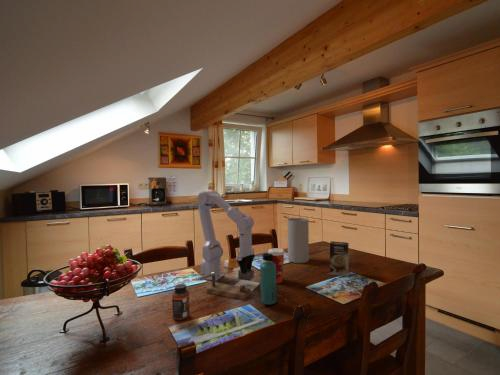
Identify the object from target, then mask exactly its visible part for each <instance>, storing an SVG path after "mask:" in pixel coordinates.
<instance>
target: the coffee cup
mask: <svg viewBox="0 0 500 375" xmlns="http://www.w3.org/2000/svg"><path fill="white" fill-rule="evenodd" d="M267 253H270V254H273V260H272V261H271V262H273V263H274V264H275V265H276V274H277V275H276V284H280V283H283V280H284V279H283V278H284V262H285V260H284V259H285V251H284V249H282V248H275V247H274V248H270V249H268V252H267Z"/></svg>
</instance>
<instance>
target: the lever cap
mask: <svg viewBox="0 0 500 375" xmlns="http://www.w3.org/2000/svg"><path fill="white" fill-rule="evenodd" d="M237 273H238V274H237V275H238V276H237V278H238V279H237V280H245V281H251V282H252V281H253V279H254V278H255V269H252V268H251V269H247V272H246V274H242V273H241V269H240V268H239V270H238V272H237Z"/></svg>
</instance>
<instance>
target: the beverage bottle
mask: <svg viewBox="0 0 500 375" xmlns="http://www.w3.org/2000/svg"><path fill="white" fill-rule="evenodd" d="M262 260H263V262H262V263H261V264H259V265H260V266H259V267H260V272H259V273H260V301H261V303H262V304H265V305H273V304H275V303H276V302H277V299H278V292H277V291H278V287H277V283H276V275H277V274H276V265H275V264H274V263H273V262H271V261H272V260H273V254H270V253H268V252H267V253H263V254H262Z"/></svg>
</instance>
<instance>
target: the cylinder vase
mask: <svg viewBox="0 0 500 375" xmlns="http://www.w3.org/2000/svg"><path fill="white" fill-rule="evenodd" d="M286 220H287V221H286V222H287V223H286V224H287V261H289V263H290V262H291V263H292V262H293V263H294V264H306V263H308V262H309V260H310V254H309V253H310V250H309V249H310V245H309V244H310V243H309V241H310V240H309V238H310V236H309V234H310V232H309V231H310V230H309V219H308V218H303V217H302V218H301V217H291V218H287V219H286Z"/></svg>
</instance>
